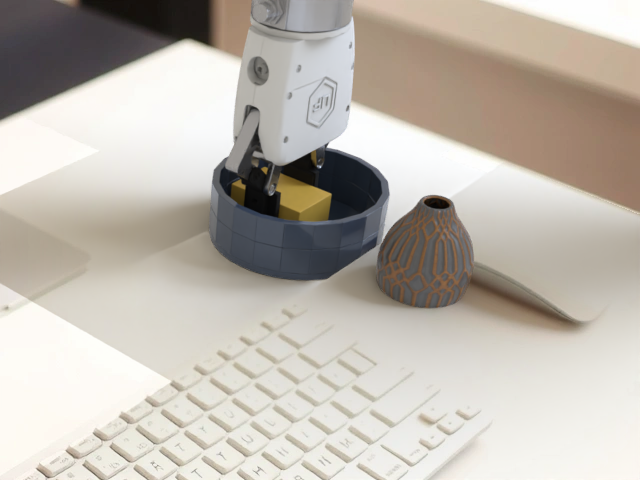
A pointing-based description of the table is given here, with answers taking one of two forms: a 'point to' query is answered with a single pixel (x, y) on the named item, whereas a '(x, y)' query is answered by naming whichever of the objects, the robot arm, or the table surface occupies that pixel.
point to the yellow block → (293, 199)
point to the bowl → (303, 223)
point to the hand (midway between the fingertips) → (278, 217)
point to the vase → (426, 256)
